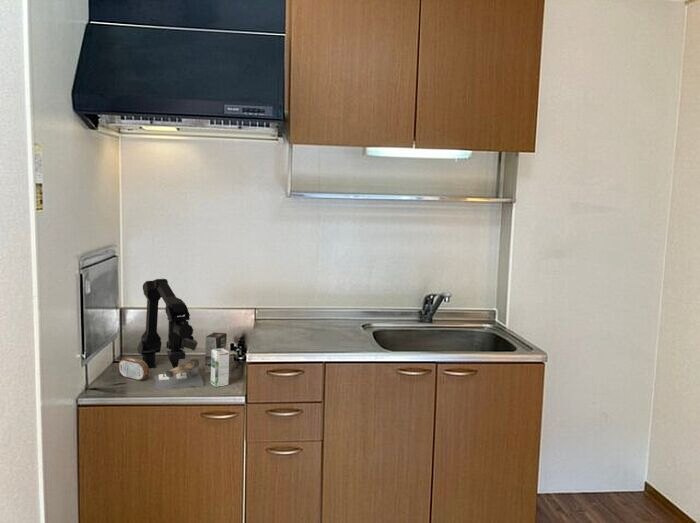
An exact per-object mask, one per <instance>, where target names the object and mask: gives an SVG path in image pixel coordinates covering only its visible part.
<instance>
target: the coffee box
mask: <svg viewBox="0 0 700 523" xmlns="http://www.w3.org/2000/svg"><path fill="white" fill-rule="evenodd" d="M227 336H228V334H227V333H225V332H212V333H210V334H209V335H206V336H205V349H204V350H205V351H204V352H205V353H204V359H205V360H204V372H205V373H211V355H212V350H214V349H225V350H227V343H228V342H227V341H228V340H227Z"/></svg>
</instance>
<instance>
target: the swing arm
mask: <svg viewBox="0 0 700 523" xmlns="http://www.w3.org/2000/svg"><path fill="white" fill-rule="evenodd" d="M194 366H198V367H199V366H200V359H198V358H191V359H190V361H187V362H185V363H183V364H181V365H178V366H177V367H176V368H173V367H172V368H171V369H170V370H166V371H165V372H166V373H165V374H166V377H173V376H174V375H176V374H179V373H184V372H185V371H187V370H189V369H190V370H191V368H192V367H194Z"/></svg>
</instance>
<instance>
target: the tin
mask: <svg viewBox="0 0 700 523" xmlns="http://www.w3.org/2000/svg"><path fill="white" fill-rule="evenodd" d="M118 371H119V374H120V375H121V376H122V377H124V378H126V377H127V378H126V379H130V378H131V379H130V380H134V379H136V380H135V381H139V380H140V381H142V380H146V379H147V378H148V377H149V374H150V368H148V365H147V364H146V363H145V362H144V361H143V360H142V359H138V358H134V357H130V356H126V357H124V358H122V359H120V360H119V361H118Z"/></svg>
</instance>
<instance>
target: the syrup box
mask: <svg viewBox="0 0 700 523" xmlns="http://www.w3.org/2000/svg"><path fill="white" fill-rule="evenodd" d="M229 373H230V351H229V350H227V349H226V350H225V349H214V350H212V355H211V372H210V384H211V385H213V386H214V387H215V388H219V386H220V387H225V386H228V385H229V378H230V376H229V375H230V374H229Z"/></svg>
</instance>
